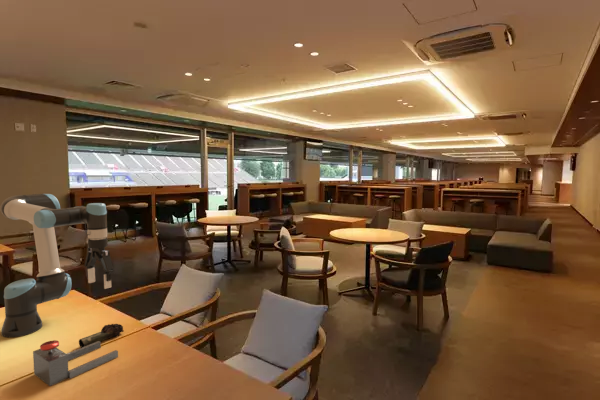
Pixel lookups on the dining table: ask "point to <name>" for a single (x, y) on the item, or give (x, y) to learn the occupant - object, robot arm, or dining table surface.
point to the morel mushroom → (102, 334)
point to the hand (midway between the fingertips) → (99, 285)
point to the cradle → (64, 361)
